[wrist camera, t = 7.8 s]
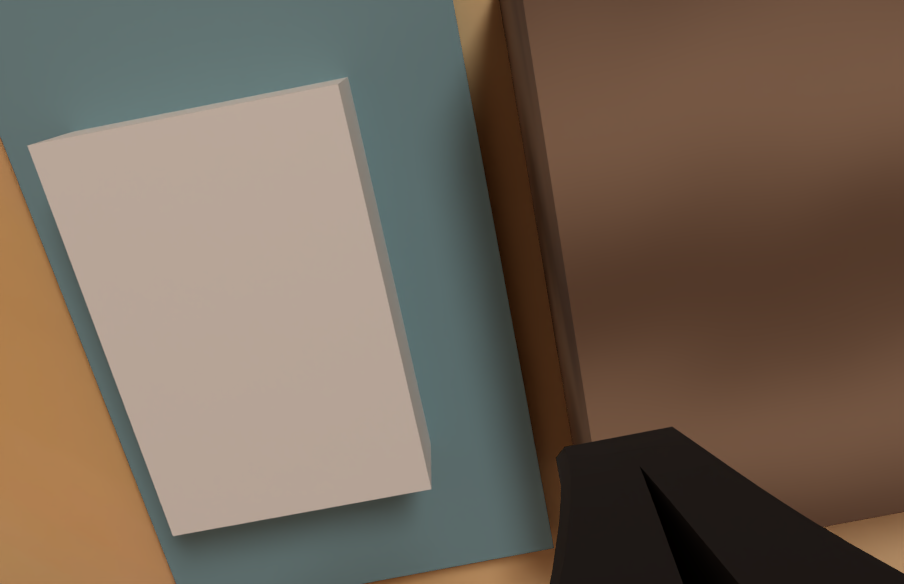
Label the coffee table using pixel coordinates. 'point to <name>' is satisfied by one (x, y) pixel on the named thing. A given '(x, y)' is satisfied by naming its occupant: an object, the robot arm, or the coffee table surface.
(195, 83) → the mat
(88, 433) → the coffee table surface
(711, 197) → the walnut deck
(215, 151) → the block
